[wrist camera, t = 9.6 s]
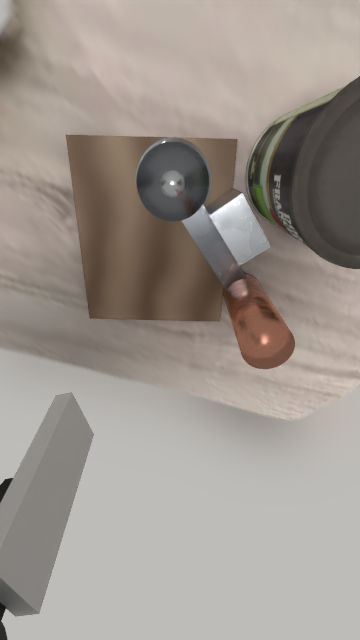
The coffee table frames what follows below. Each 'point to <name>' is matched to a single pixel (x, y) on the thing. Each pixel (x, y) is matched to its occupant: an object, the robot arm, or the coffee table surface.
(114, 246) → the board
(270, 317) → the lever
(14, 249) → the coffee table surface
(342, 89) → the coffee can
